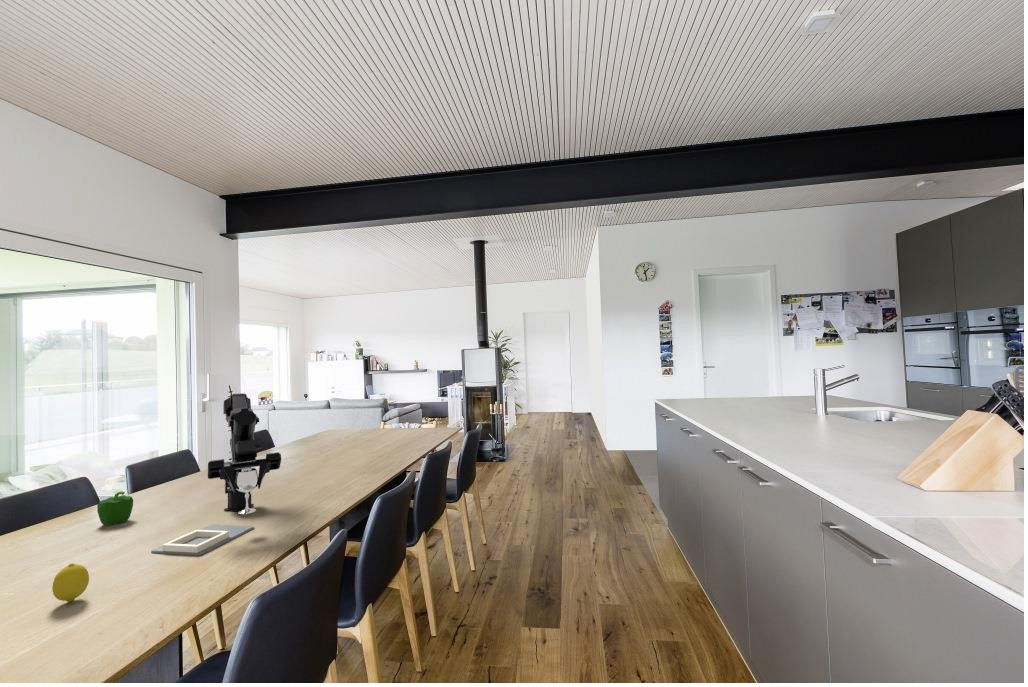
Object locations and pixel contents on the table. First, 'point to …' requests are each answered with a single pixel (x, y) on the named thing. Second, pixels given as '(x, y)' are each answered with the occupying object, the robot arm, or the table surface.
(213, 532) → the square frame board
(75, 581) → the lemon
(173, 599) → the table surface
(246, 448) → the robot arm
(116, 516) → the bell pepper
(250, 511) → the wineglass
